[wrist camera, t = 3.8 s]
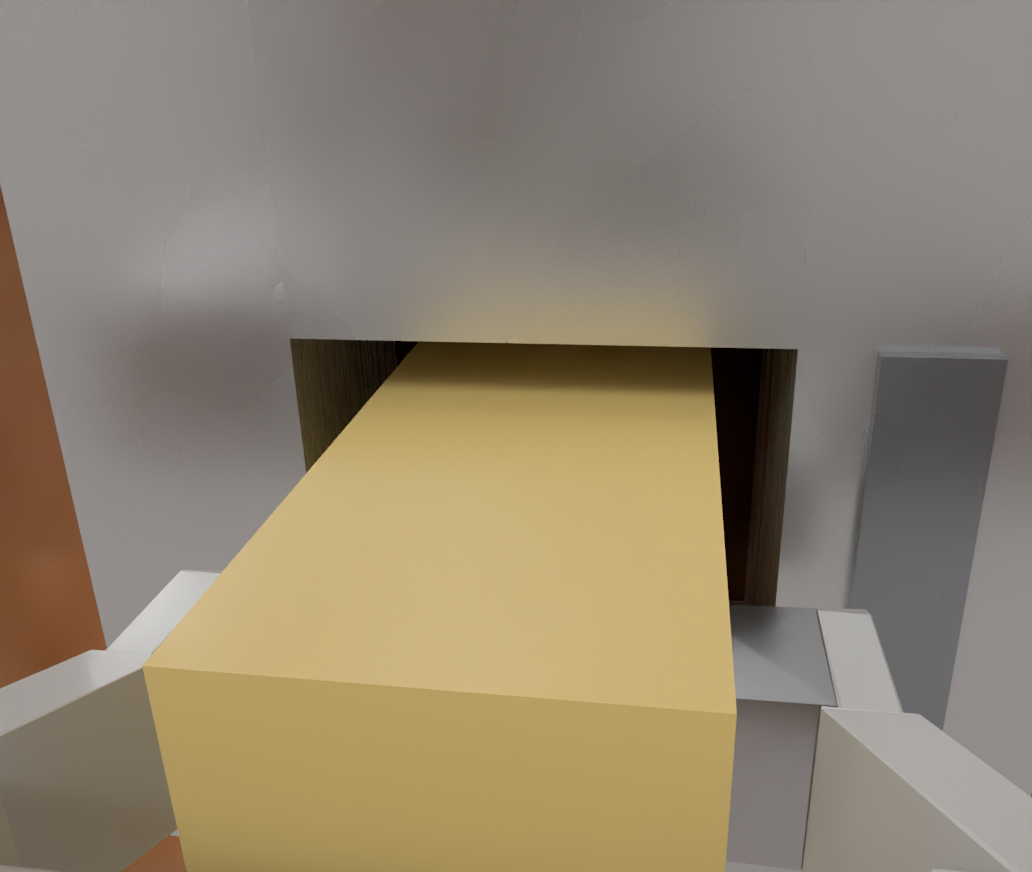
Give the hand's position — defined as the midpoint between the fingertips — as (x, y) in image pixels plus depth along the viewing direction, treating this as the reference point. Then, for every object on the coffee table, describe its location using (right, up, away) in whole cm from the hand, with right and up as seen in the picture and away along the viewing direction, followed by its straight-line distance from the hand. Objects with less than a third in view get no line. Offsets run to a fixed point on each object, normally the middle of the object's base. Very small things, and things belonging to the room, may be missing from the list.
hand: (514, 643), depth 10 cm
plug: (+1, +2, +5) cm, 6 cm away
